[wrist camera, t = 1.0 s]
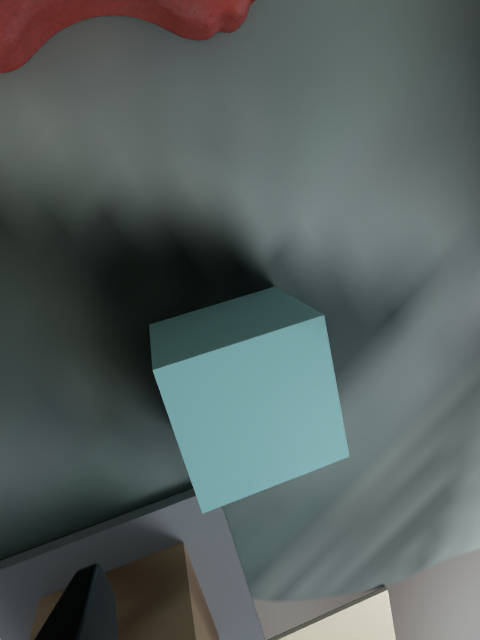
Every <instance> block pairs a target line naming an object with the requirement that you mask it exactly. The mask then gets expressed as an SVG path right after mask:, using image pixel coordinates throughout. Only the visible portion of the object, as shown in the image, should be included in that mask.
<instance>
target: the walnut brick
mask: <svg viewBox="0 0 480 640" xmlns="http://www.w3.org/2000/svg"><path fill="white" fill-rule="evenodd" d="M105 574H106V576H107V579H108V581H109V583H110V585H111V587H112V589H113V591H114V594H115V599H116V611H117V632H118V640H219V634H218V632H217V629H216V627H215V624H214V621H213V619H212V616H211V613H210V611H209V608H208V605H207V603H206V600H205V598H204V595H203V592H202V590H201V587H200V584H199V582H198V579H197V576H196V574H195V571H194V569H193V566H192V563H191V561H190V558H189V555H188V553H187V550H186V547H185V545H184V542H181V543H179V544H176V545H174V546H171V547H169V548H166V549H164V550H161V551H159V552H156V553H154V554H151V555H148V556H146V557H143V558H141V559H138V560H136V561H133V562H131V563H128V564H126V565H123V566H121V567H118V568H116V569H113V570H111V571H108V572H106V573H105ZM65 589H66V588H65ZM65 589H63V590H60V591H58V592H55V593H53V594H50V595H48V596H45V597H43V598H40V600H39V604H38V608H37V612H36V616H35V619H34V623H33V627H32V631H31V635H30V639H29V640H34V639H35V637H36V635H37V634H38V632H39V631H40V629H41V627H42V626H43V624H44V623H45V621H46V619H47V618H48V616H49V614H50V613H51V611H52V610H53V608H54V606H55V605H56V603H57V602H58V600H59V598H60V597H61V595H62V593H63V592H64V590H65Z"/></svg>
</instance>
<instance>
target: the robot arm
mask: <svg viewBox="0 0 480 640" xmlns="http://www.w3.org/2000/svg"><path fill="white" fill-rule="evenodd" d="M34 640H118V632H117V611H116V599H115V594H114V591H113V589H112V587H111V585H110V583H109V581H108V579H107V576H106V574H105V572H104V570H103V568H102V566H101V565H100V564H98V563H94V564H92V565H89V566H87V567H84V568H82V569H79V570H78V571H77V572H76V573H75V574H74V576H73V577H72V579H71V581H70V582H69V584H68V585H67V587H66V589H65V590H64V592H63V593H62V595H61V597H60V598H59V600H58V602H57V603H56V605H55V606H54V608H53V610H52V611H51V613H50V614H49V616H48V618H47V619H46V621H45V623H44V624H43V626H42V627H41V629H40V631H39V632H38V634H37V635H36V637H35V639H34Z"/></svg>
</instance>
